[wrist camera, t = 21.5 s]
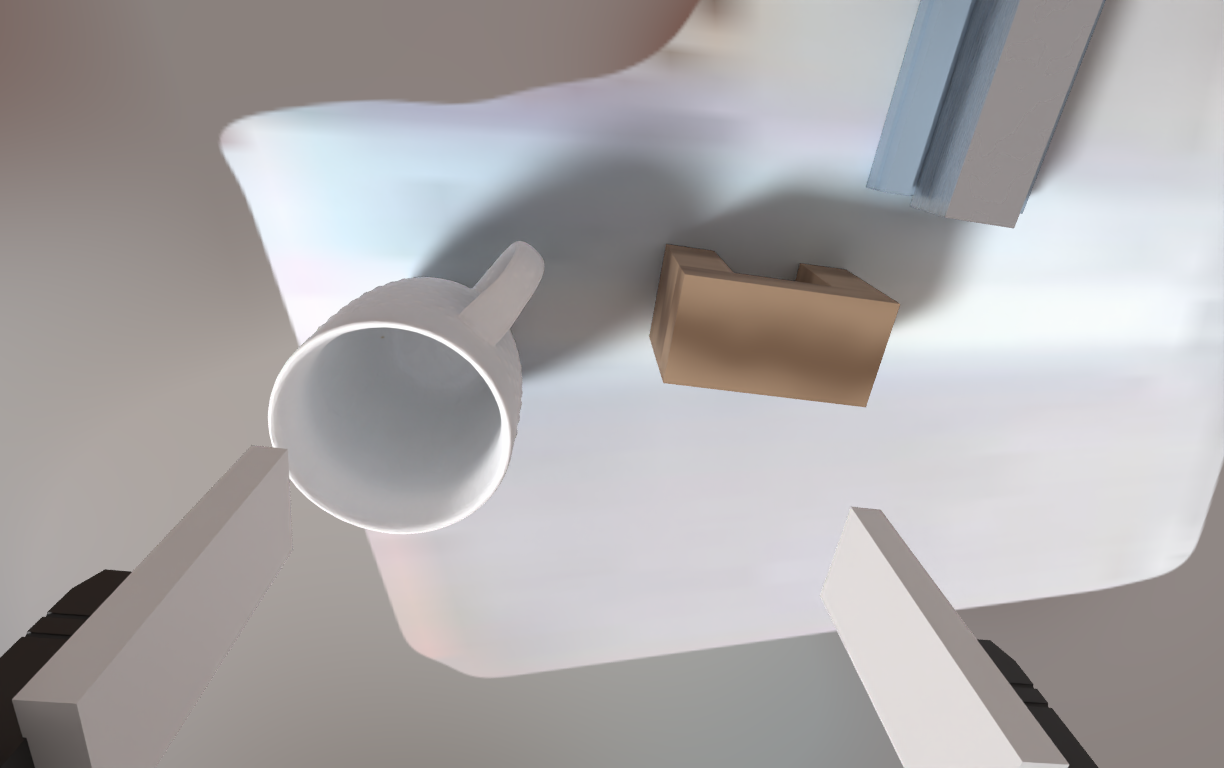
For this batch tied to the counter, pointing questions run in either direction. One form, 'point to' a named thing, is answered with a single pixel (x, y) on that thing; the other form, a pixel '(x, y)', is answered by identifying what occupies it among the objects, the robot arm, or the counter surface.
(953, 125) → the shaft
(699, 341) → the bearing block
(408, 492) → the mug
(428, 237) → the counter surface
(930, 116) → the cradle
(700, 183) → the counter surface
